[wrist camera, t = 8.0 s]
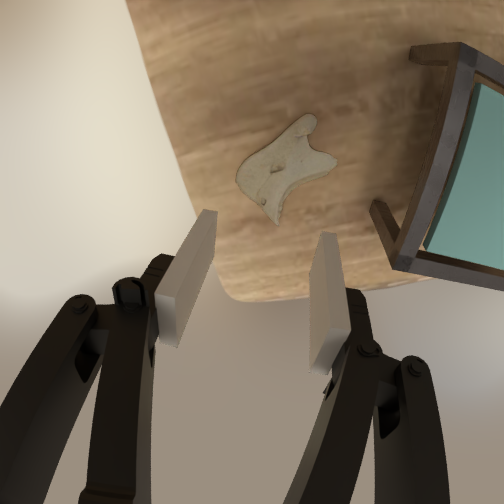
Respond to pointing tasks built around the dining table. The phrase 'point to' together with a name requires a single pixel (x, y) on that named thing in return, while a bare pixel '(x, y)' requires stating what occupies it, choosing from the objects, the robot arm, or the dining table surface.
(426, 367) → the robot arm
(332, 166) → the fossil
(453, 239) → the trapdoor
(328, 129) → the dining table surface
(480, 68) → the frame
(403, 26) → the dining table surface
